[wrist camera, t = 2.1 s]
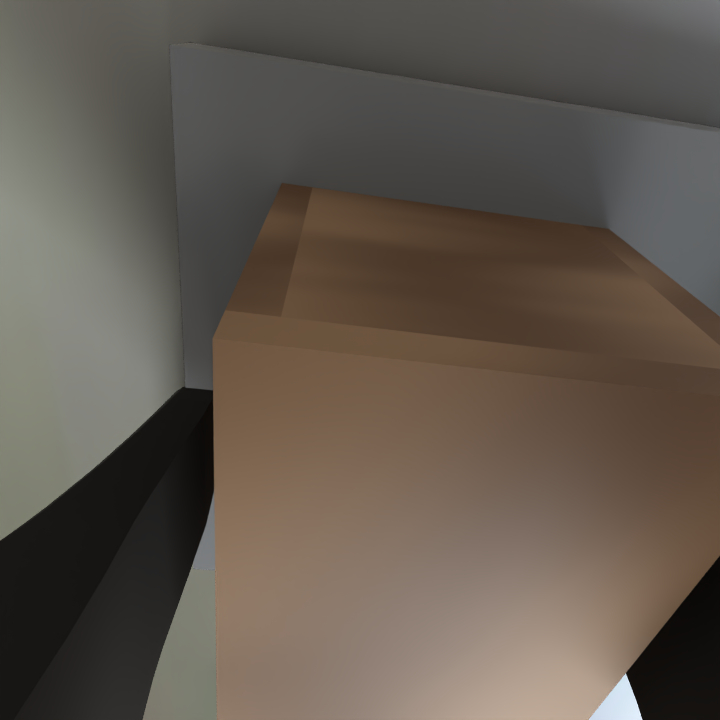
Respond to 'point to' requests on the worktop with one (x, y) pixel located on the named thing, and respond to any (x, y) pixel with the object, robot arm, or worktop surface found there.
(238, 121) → the board
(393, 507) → the walnut box
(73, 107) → the worktop surface
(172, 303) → the worktop surface
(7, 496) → the worktop surface
